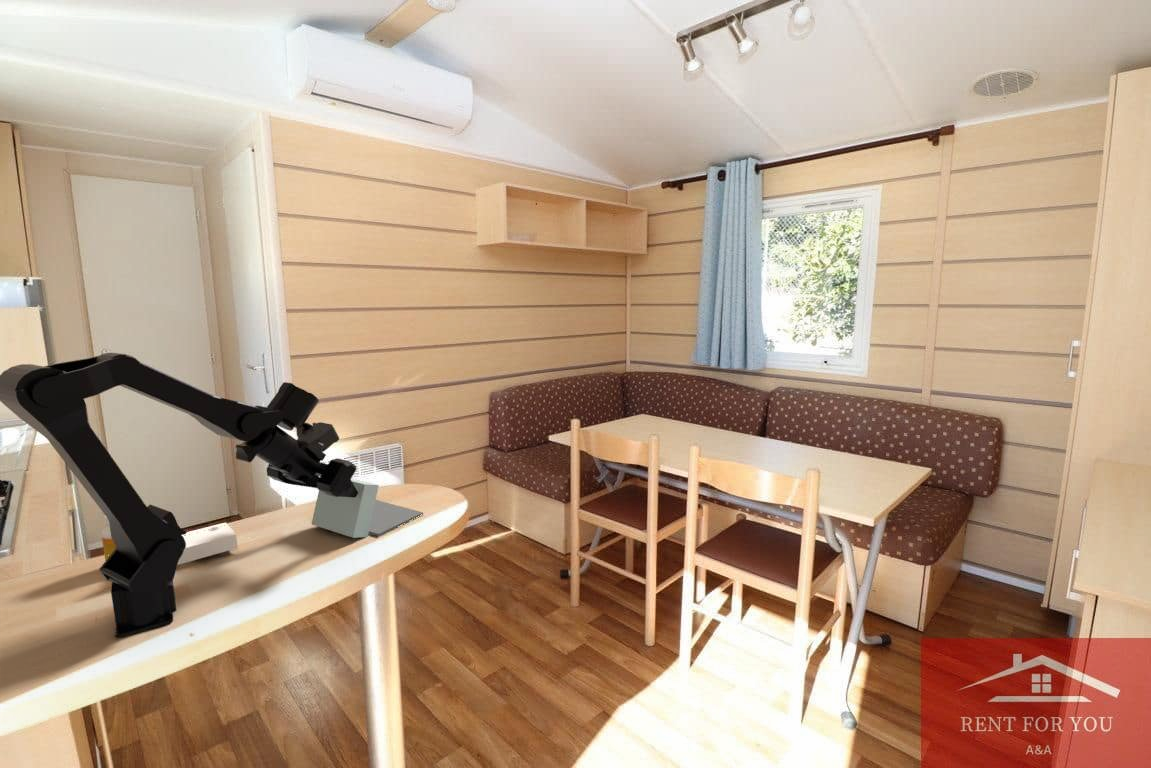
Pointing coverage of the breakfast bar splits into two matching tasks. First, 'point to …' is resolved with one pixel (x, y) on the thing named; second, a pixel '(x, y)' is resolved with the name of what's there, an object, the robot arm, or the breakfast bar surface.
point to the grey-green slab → (347, 511)
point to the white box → (208, 542)
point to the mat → (389, 517)
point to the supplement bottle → (107, 540)
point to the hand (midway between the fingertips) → (339, 490)
